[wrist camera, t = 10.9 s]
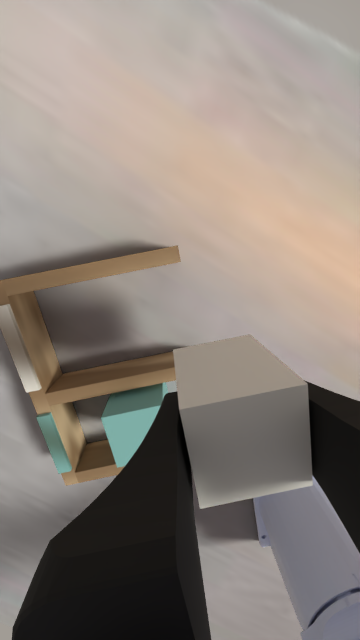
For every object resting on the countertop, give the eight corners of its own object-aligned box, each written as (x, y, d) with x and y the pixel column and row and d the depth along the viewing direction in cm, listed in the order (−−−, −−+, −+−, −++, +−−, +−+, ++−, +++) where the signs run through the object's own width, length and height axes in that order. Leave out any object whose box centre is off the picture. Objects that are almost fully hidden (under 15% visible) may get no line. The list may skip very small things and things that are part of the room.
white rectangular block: (257, 402, 13) (313, 485, 8) (186, 416, 13) (200, 509, 8) (250, 334, 12) (307, 383, 7) (173, 349, 12) (179, 409, 7)
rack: (208, 427, 22) (216, 456, 18) (79, 455, 21) (64, 489, 18) (175, 247, 18) (178, 245, 14) (14, 279, 17) (-19, 283, 14)
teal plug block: (172, 410, 21) (174, 455, 16) (127, 419, 21) (117, 467, 16) (162, 370, 20) (162, 404, 15) (116, 379, 20) (101, 418, 15)
